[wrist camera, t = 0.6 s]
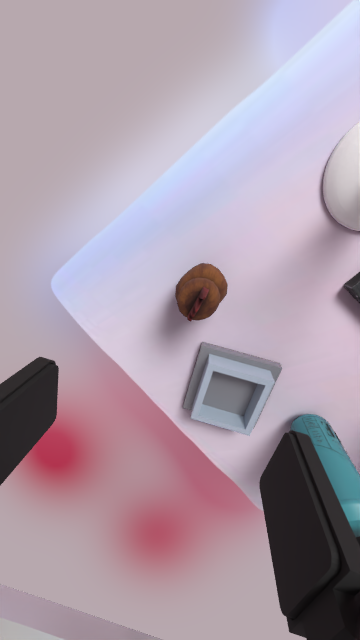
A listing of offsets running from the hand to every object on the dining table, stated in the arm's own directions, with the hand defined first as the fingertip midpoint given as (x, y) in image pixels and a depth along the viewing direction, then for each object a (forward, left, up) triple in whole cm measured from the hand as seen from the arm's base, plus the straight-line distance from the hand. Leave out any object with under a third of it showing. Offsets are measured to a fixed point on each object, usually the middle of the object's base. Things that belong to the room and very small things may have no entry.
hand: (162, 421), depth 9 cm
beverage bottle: (-24, +19, -28) cm, 42 cm away
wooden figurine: (0, 0, -28) cm, 28 cm away
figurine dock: (-9, +16, -28) cm, 34 cm away
